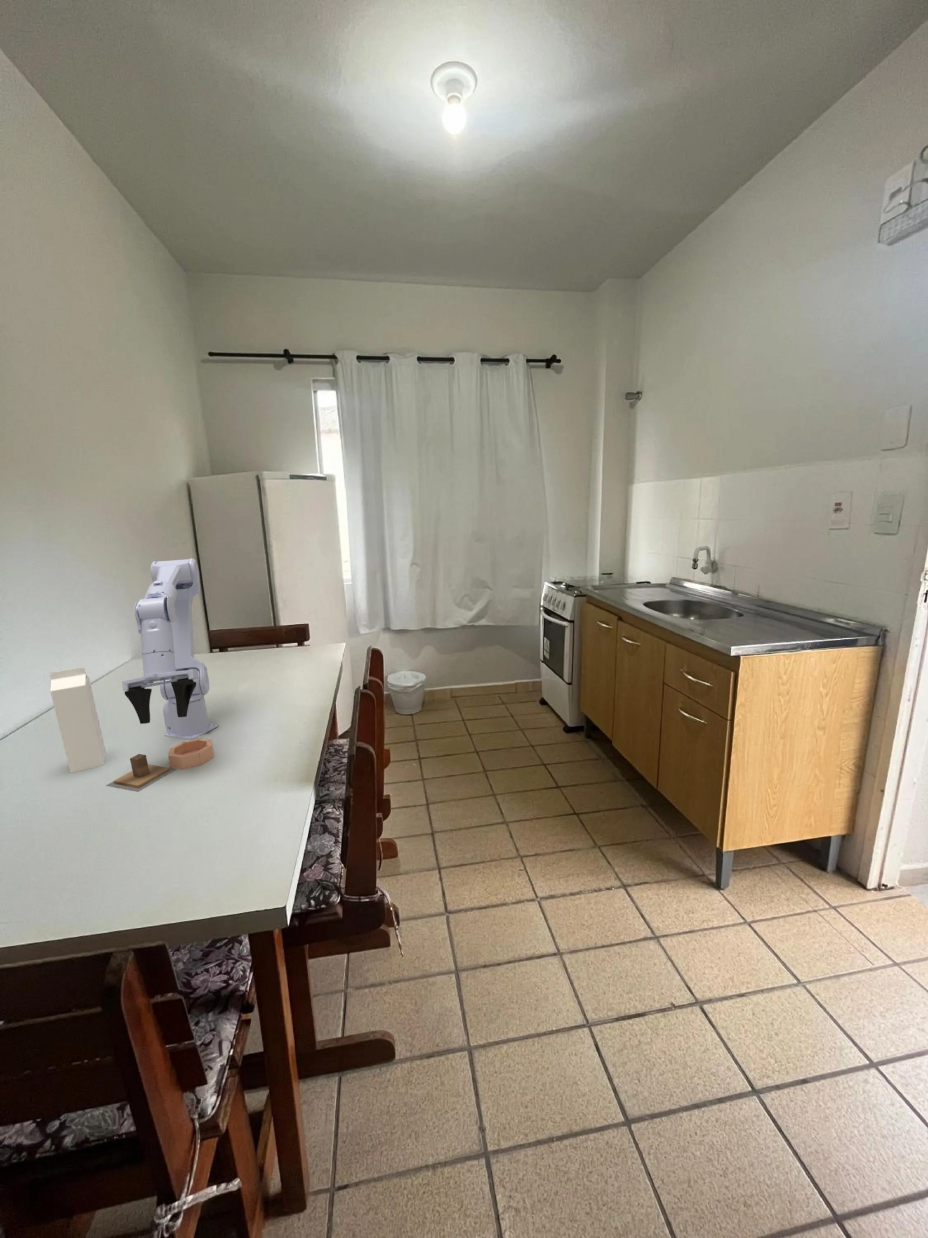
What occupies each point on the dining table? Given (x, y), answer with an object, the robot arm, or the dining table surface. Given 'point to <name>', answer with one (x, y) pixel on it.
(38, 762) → the dining table surface
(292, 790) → the dining table surface
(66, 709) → the milk
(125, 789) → the mat
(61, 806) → the dining table surface
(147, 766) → the lid
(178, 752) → the octagonal copper pot
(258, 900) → the dining table surface
